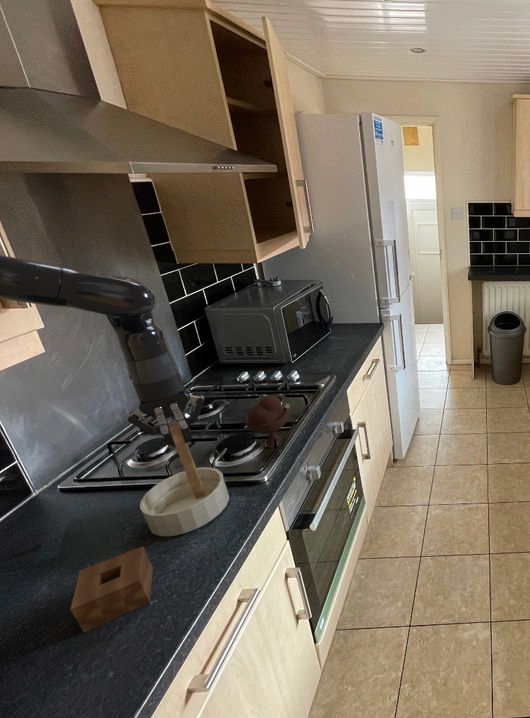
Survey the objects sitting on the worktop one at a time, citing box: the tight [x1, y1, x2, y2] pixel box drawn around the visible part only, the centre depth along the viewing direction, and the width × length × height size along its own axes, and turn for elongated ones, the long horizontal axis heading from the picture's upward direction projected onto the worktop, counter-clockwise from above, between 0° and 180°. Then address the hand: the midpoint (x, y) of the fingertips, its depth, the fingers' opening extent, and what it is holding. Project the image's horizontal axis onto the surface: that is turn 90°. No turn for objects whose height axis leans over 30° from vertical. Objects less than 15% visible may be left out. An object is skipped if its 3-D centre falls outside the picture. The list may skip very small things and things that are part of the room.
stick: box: [168, 420, 205, 499], centre depth 94 cm, size 2×2×20 cm
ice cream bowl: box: [244, 395, 289, 446], centre depth 119 cm, size 11×11×15 cm
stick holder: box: [70, 545, 154, 633], centre depth 77 cm, size 9×9×6 cm
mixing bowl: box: [139, 467, 230, 537], centre depth 96 cm, size 15×15×6 cm
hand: (180, 442), depth 92 cm, fingers closed on stick, 2 cm apart
